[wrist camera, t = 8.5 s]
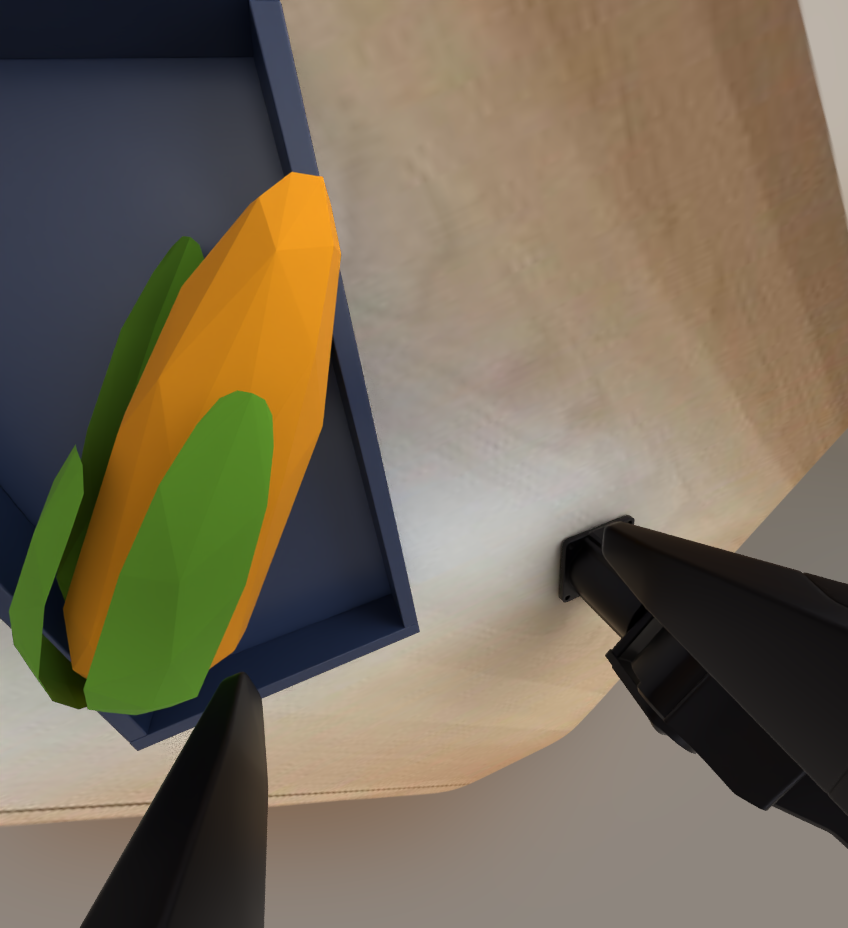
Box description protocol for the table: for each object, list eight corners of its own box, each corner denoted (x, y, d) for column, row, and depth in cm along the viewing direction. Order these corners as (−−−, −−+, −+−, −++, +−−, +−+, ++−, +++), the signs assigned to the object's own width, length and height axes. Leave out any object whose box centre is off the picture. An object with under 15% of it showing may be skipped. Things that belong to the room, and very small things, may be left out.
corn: (-80, 827, 10) (49, -106, 5) (49, 611, 16) (166, 107, 11) (221, 777, 14) (474, 232, 9) (232, 618, 20) (382, 247, 15)
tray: (402, 590, 24) (420, 632, 21) (156, 686, 20) (137, 751, 18) (270, 32, 12) (269, -51, 9) (-400, 27, 8) (-767, -113, 5)
